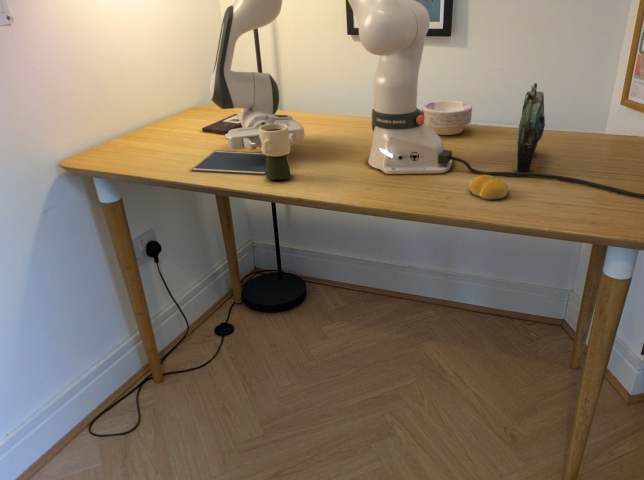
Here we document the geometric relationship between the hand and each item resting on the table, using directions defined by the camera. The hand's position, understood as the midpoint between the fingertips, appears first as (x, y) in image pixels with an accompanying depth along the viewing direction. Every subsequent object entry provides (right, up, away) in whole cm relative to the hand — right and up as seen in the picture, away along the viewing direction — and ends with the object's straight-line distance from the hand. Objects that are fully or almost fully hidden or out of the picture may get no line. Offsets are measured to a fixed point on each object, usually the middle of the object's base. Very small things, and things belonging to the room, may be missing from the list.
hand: (271, 144), depth 144 cm
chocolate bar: (-20, +16, +40) cm, 47 cm away
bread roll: (+53, -15, -11) cm, 56 cm away
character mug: (+2, -9, -1) cm, 9 cm away
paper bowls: (+49, +12, +31) cm, 59 cm away
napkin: (-10, -3, +9) cm, 14 cm away
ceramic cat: (+67, -3, +6) cm, 68 cm away
